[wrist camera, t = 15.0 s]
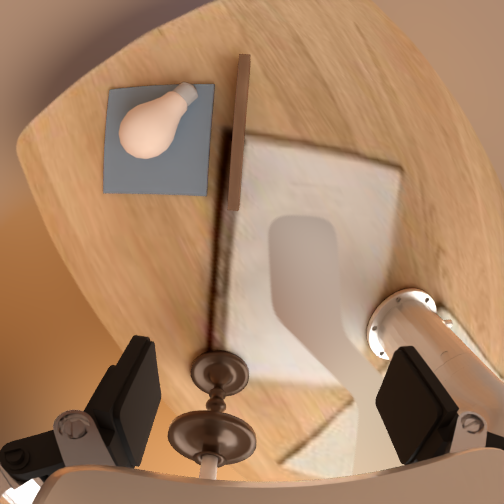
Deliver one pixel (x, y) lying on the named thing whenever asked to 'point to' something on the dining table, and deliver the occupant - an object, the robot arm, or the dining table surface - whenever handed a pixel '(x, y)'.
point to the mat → (170, 161)
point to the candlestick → (214, 416)
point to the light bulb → (155, 122)
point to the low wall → (238, 132)
